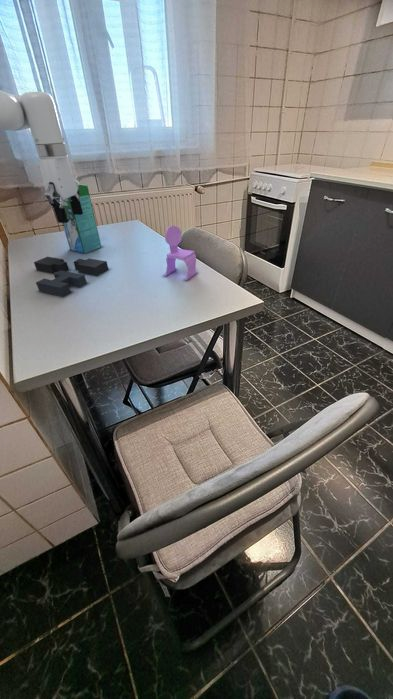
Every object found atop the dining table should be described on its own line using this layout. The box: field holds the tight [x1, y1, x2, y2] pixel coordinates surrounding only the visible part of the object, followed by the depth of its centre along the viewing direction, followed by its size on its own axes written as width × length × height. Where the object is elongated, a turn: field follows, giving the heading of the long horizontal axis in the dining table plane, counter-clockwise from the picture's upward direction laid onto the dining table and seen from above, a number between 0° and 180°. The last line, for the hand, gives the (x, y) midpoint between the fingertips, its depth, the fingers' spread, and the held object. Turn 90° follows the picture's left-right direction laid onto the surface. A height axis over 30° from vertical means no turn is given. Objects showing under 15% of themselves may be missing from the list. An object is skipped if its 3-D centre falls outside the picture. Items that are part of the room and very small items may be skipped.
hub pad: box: [35, 270, 88, 298], centre depth 91 cm, size 10×10×3 cm
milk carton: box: [57, 179, 102, 254], centre depth 114 cm, size 9×9×25 cm
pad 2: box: [73, 258, 109, 277], centre depth 101 cm, size 11×6×3 cm, turn 65°
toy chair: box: [164, 225, 197, 281], centre depth 92 cm, size 8×9×15 cm
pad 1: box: [33, 256, 70, 274], centre depth 103 cm, size 11×6×3 cm, turn 65°
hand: (71, 218), depth 91 cm, fingers open, 9 cm apart
